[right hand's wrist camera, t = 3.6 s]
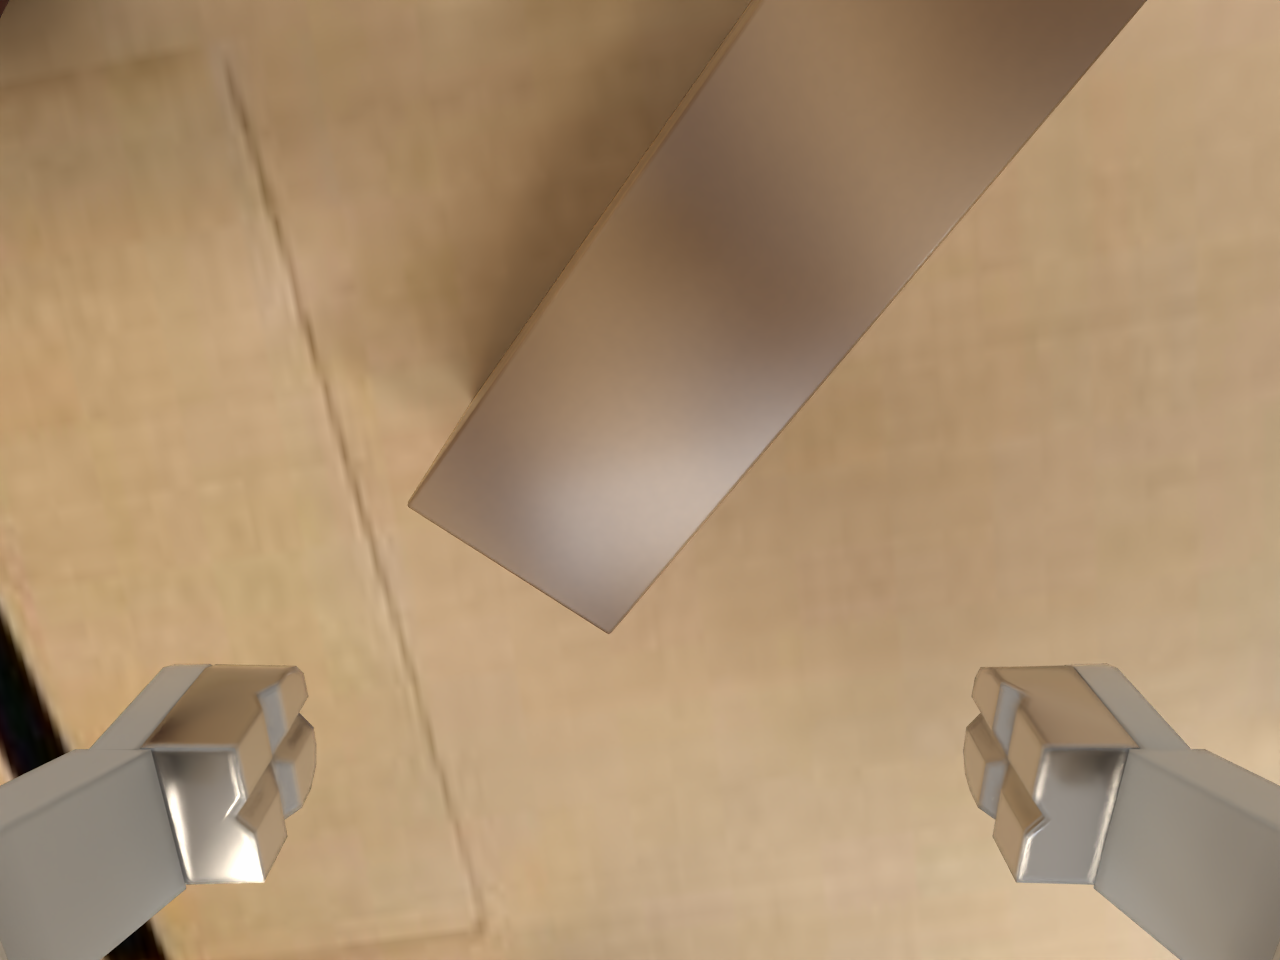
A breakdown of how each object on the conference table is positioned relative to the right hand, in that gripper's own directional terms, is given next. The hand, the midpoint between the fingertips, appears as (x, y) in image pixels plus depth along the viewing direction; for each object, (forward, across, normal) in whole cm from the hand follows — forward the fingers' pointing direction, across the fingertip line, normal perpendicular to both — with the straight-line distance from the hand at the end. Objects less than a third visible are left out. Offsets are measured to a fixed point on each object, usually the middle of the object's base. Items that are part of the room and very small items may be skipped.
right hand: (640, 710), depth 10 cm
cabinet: (+17, -3, -5) cm, 18 cm away
